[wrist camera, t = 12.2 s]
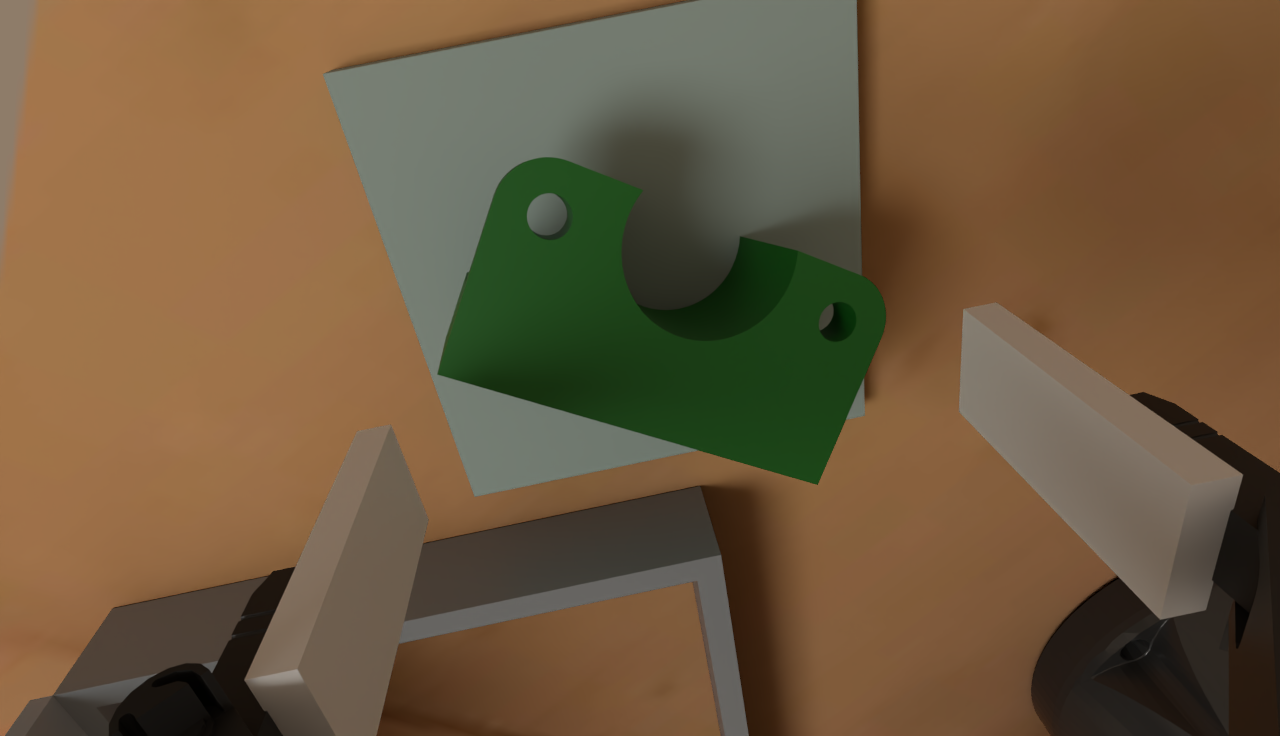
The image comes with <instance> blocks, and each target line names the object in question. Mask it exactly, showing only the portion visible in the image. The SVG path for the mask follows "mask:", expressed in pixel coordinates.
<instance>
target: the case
mask: <svg viewBox="0 0 1280 736" xmlns="http://www.w3.org/2000/svg"><path fill="white" fill-rule="evenodd" d="M267 577H268V576H267ZM267 577H262V578H257V579H252V580H247V581H243V582H238V583H233V584H228V585H223V586H219V587H214V588H209V589H204V590H200V591H195V592H190V593H185V594H180V595H176V596H171V597H166V598H161V599H156V600H152V601H147V602H142V603H137V604H132V605H128V606H123V607H118V608H113V609H112V610H111V611H110V613H109V614H108V616H107V617H106V619H105V620H104V622H103V623H102V624H101V626H100V627H99V629H98V630H97V632H96V633H95V635H94V636H93V638H92V639H91V641H90V642H89V643H88V645H87V646H86V648H85V649H84V651H83V652H82V654H81V655H80V657H79V658H78V659H77V661H76V662H75V664H74V665H73V667H72V668H71V670H70V671H69V673H68V674H67V676H66V677H65V678H64V680H63V681H62V683H61V684H60V686H59V687H58V689H57V690H56V692H55V693H54V695H53V696H49V697H44V698H39V699H34V700H30V701H29V703H28V704H27V705H26V707H25V708H24V710H23V711H22V712H21V714H20V715H19V717H18V718H17V719H16V721H15V722H14V724H13V725H12V726H11V728H10V729H9V731H8V732H7V733H6V735H5V736H109V723H110V721H111V719H112V717H113V715H114V713H115V711H116V709H117V707H118V706H119V705H120V704H121V703H122V702H123V701H124V699H125V698H126V697H127V696H128V695H129V694H130V693H131V692H132V691H133V690H134V689H136V688H137V687H138V686H140V685H141V684H142V683H143V682H145V681H146V680H147V679H149V678H150V677H152V676H154V675H156V674H158V673H160V672H162V671H164V670H166V669H167V668H170V667H174V666H177V665H181V664H184V663H199V664H202V665H203V666H205V667H206V668H208V669H209V670H210V671H211V673H212V672H213V670H214V668H215V666H216V664H217V662H218V660H219V658H220V656H221V654H222V652H223V650H224V649H225V647H226V645H227V643H228V641H229V640H231V639H232V637H231V635H232V633H233V631H234V629H235V627H236V625H237V623H238V621H241V615H242V613H243V611H244V609H245V607H246V605H247V603H248V601H249V599H250V597H251V595H252V593H253V592H254V591H255V590H256V589H257V588H258V587H259V586H260V585H261V584H262V583H263V582H264V581H265V580H266V579H267ZM688 582H693V586H694V592H695V597H696V602H697V608H698V613H699V619H700V624H701V630H702V635H703V641H704V646H705V651H706V657H707V662H708V668H709V673H710V679H711V684H712V690H713V695H714V700H715V706H716V711H717V717H718V722H719V728H720V733H721V736H749V734H748V727H747V721H746V714H745V708H744V701H743V695H742V688H741V682H740V675H739V669H738V662H737V656H736V649H735V643H734V636H733V630H732V623H731V616H730V610H729V603H728V597H727V590H726V584H725V577H724V571H723V564H722V558H721V553H720V550H719V546H718V543H717V540H716V537H715V533H714V530H713V527H712V523H711V520H710V517H709V513H708V510H707V507H706V504H705V500H704V497H703V494H702V490H701V487H700V486H698V487H693V488H688V489H683V490H679V491H674V492H669V493H664V494H660V495H655V496H650V497H645V498H640V499H636V500H631V501H626V502H621V503H616V504H612V505H607V506H602V507H597V508H592V509H588V510H583V511H578V512H573V513H568V514H564V515H559V516H554V517H549V518H545V519H540V520H535V521H530V522H525V523H521V524H516V525H511V526H506V527H501V528H497V529H492V530H487V531H482V532H477V533H473V534H468V535H463V536H458V537H453V538H449V539H444V540H439V541H434V542H430V543H425V544H423V545H422V549H421V553H420V557H419V561H418V565H417V570H416V574H415V578H414V582H413V586H412V590H411V594H410V599H409V603H408V607H407V611H406V615H405V619H404V623H403V628H402V632H401V636H400V640H399V644H400V643H404V642H409V641H414V640H419V639H423V638H428V637H433V636H438V635H442V634H447V633H452V632H457V631H461V630H466V629H471V628H475V627H480V626H485V625H490V624H494V623H499V622H504V621H509V620H513V619H518V618H523V617H528V616H532V615H537V614H542V613H546V612H551V611H556V610H561V609H565V608H570V607H575V606H580V605H584V604H589V603H594V602H599V601H603V600H608V599H613V598H617V597H622V596H627V595H632V594H636V593H641V592H646V591H651V590H655V589H660V588H665V587H670V586H674V585H679V584H684V583H688Z"/></svg>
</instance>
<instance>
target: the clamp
mask: <svg viewBox="0 0 1280 736" xmlns="http://www.w3.org/2000/svg"><path fill="white" fill-rule="evenodd" d="M642 192H643V190H642V189H639V188H636V187H634V186H631V185H629V184H626V183H624V182H621V181H619V180H616V179H613V178H611V177H608V176H606V175H603V174H601V173H598V172H596V171H593V170H590V169H588V168H585V167H583V166H580V165H578V164H575V163H573V162H570V161H567V160H564V159H560V158H554V157H542V158H536V159H532V160H528V161H525V162H523V163H521V164H519V165H517V166H515V167H514V168H513V169H511V170H510V171H509V172H508V173H507V174H506V175H505V176H504V177H503V178H502V179H501V181H500V183H499V184H498V186H497V188H496V190H495V193H494V195H493V199H492V202H491V205H490V208H489V211H488V214H487V217H486V220H485V223H484V227H483V230H482V233H481V236H480V239H479V242H478V245H477V248H476V251H475V255H474V258H473V261H472V264H471V267H470V270H469V272H467V273H466V276H465V280H464V283H463V286H462V289H461V292H460V295H459V298H458V301H457V305H456V308H455V311H454V314H453V317H452V320H451V323H450V326H449V330H448V333H447V336H446V339H445V343H444V348H443V352H442V356H441V360H440V365H439V369H438V373H437V375H440V376H444V377H447V378H451V379H454V380H458V381H461V382H465V383H468V384H471V385H475V386H478V387H482V388H485V389H489V390H492V391H496V392H499V393H503V394H506V395H509V396H513V397H516V398H520V399H523V400H527V401H530V402H534V403H537V404H540V405H544V406H547V407H551V408H554V409H558V410H561V411H565V412H568V413H572V414H575V415H578V416H582V417H585V418H589V419H592V420H596V421H599V422H603V423H606V424H609V425H613V426H616V427H620V428H623V429H627V430H630V431H634V432H637V433H641V434H644V435H647V436H651V437H654V438H658V439H661V440H665V441H668V442H672V443H675V444H679V445H682V446H685V447H689V448H692V449H696V450H699V451H703V452H706V453H710V454H713V455H716V456H720V457H723V458H727V459H730V460H734V461H737V462H741V463H744V464H748V465H751V466H754V467H758V468H761V469H765V470H768V471H772V472H775V473H779V474H782V475H785V476H789V477H792V478H796V479H799V480H803V481H806V482H810V483H813V484H817V485H818V483H819V481H820V478H821V476H822V474H823V471H824V469H825V467H826V464H827V462H828V460H829V457H830V455H831V453H832V451H833V448H834V446H835V444H836V441H837V439H838V437H839V434H840V432H841V430H842V427H843V425H844V423H845V421H846V418H847V416H848V414H849V411H850V409H851V407H852V404H853V402H854V400H855V397H856V395H857V393H858V391H859V388H860V386H861V384H862V381H863V379H864V377H865V374H866V372H867V370H868V367H869V365H870V363H871V361H872V358H873V356H874V354H875V351H876V349H877V347H878V344H879V342H880V340H881V337H882V335H883V332H884V328H885V322H886V310H885V304H884V301H883V298H882V296H881V294H880V292H879V290H878V289H877V287H876V286H875V285H874V284H873V283H872V282H871V281H870V280H868V279H867V278H865V277H863V276H861V275H859V274H856V273H854V272H851V271H849V270H846V269H844V268H841V267H838V266H836V265H833V264H831V263H828V262H826V261H823V260H821V259H818V258H815V257H813V256H810V255H808V254H805V253H803V252H800V251H797V250H793V249H789V248H785V247H781V246H777V245H773V244H769V243H765V242H761V241H757V240H753V239H749V238H745V237H741V236H740V241H739V247H738V252H737V255H736V259H735V261H734V264H733V266H732V268H731V270H730V272H729V274H728V275H727V277H726V278H725V279H724V281H723V282H722V283H721V284H720V286H719V287H718V288H717V289H716V290H715V291H714V292H712V293H711V294H710V295H709V296H707V297H706V298H704V299H703V300H701V301H699V302H697V303H695V304H693V305H690V306H688V307H684V308H680V309H674V310H657V309H651V308H647V307H644V306H641V305H639V304H636V302H635V300H634V299H633V297H632V295H631V293H630V291H629V288H628V286H627V283H626V280H625V277H624V272H623V267H622V257H621V254H622V238H623V233H624V228H625V225H626V222H627V219H628V216H629V214H630V211H631V209H632V207H633V205H634V204H635V202H636V200H637V198H638V197H639V196H640V194H641V193H642ZM546 193H553V194H555V195H557V196H558V197H560V198H561V200H562V201H563V202H564V204H565V206H566V210H567V218H566V222H565V224H564V226H563V227H562V228H561V229H560V230H559V231H558V232H556V233H555V234H552V235H540V234H537V233H535V232H534V231H532V230H531V229H530V227H529V225H528V221H527V211H528V208H529V206H530V204H531V202H532V201H533V200H534V199H535V198H536V197H538V196H540V195H542V194H546ZM830 304H832V305H833V317H832V319H831V321H830V323H829V324H828V325H827V326H826V327H825V328H824V329H822V330H820V329H819V319H820V316H821V314H822V312H823V311H824V309H825V308H826V307H828V306H829V305H830Z"/></svg>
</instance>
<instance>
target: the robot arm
mask: <svg viewBox="0 0 1280 736" xmlns="http://www.w3.org/2000/svg"><path fill="white" fill-rule="evenodd" d="M959 412H960V413H961V414H962V415H963V416H964V417H965V418H966V419H967V421H968V422H969V423H970V424H971V425H972V426H973V427H974V428H975V429H976V430H977V431H978V432H979V433H980V434H981V435H982V436H983V437H984V438H985V439H986V440H987V441H988V442H989V443H990V444H991V445H992V446H993V447H994V448H995V449H996V451H997V452H998V453H999V454H1000V455H1001V456H1002V457H1003V458H1004V459H1005V460H1006V461H1007V462H1008V463H1009V464H1010V465H1011V466H1012V467H1013V468H1014V469H1015V470H1016V471H1017V472H1018V473H1019V474H1020V475H1021V476H1022V477H1023V478H1024V479H1025V481H1026V482H1027V483H1028V484H1029V485H1030V486H1031V487H1032V488H1033V489H1034V490H1035V491H1036V492H1037V493H1038V494H1039V495H1040V496H1041V497H1042V498H1043V499H1044V500H1045V501H1046V502H1047V503H1048V504H1049V505H1050V506H1051V507H1052V508H1053V509H1054V510H1055V512H1056V513H1057V514H1058V515H1059V516H1060V517H1061V518H1062V519H1063V520H1064V521H1065V522H1066V523H1067V524H1068V525H1069V526H1070V527H1071V528H1072V529H1073V530H1074V531H1075V532H1076V533H1077V534H1078V535H1079V536H1080V537H1081V538H1082V539H1083V540H1084V542H1085V543H1086V544H1087V545H1088V546H1089V547H1090V548H1091V549H1092V550H1093V551H1094V552H1095V553H1096V554H1097V555H1098V556H1099V557H1100V558H1101V559H1102V560H1103V561H1104V562H1105V563H1106V564H1107V565H1108V566H1109V567H1110V568H1111V569H1112V570H1113V572H1114V573H1115V574H1116V575H1117V576H1118V577H1119V579H1117V580H1116V581H1114V582H1113V583H1111V584H1110V585H1108V586H1107V587H1105V588H1104V589H1102V590H1101V591H1099V592H1098V593H1097V594H1095V595H1094V596H1093V597H1091V598H1090V599H1089V600H1088V601H1087V602H1085V603H1084V604H1083V605H1082V606H1081V607H1080V608H1078V609H1077V610H1076V611H1075V612H1074V613H1073V614H1072V615H1071V616H1070V617H1069V618H1068V619H1067V620H1066V621H1065V622H1064V623H1063V625H1062V626H1061V627H1060V628H1059V629H1058V630H1057V632H1056V633H1055V634H1054V635H1053V637H1052V638H1051V640H1050V641H1049V643H1048V644H1047V646H1046V647H1045V649H1044V651H1043V652H1042V654H1041V656H1040V658H1039V660H1038V663H1037V665H1036V668H1035V671H1034V675H1033V679H1032V687H1031V696H1032V702H1033V706H1034V709H1035V711H1036V713H1037V715H1038V717H1039V718H1040V720H1041V721H1042V723H1043V724H1044V726H1045V727H1046V729H1047V730H1048V732H1049V733H1050V735H1051V736H1280V473H1279V472H1277V471H1276V470H1274V469H1273V468H1271V467H1270V466H1268V465H1267V464H1265V463H1264V462H1262V461H1261V460H1259V459H1258V458H1256V457H1255V456H1253V455H1252V454H1250V453H1249V452H1247V451H1246V450H1244V449H1243V448H1241V447H1240V446H1238V445H1236V444H1235V443H1233V442H1232V441H1230V440H1229V439H1227V438H1226V437H1224V436H1223V435H1220V436H1219V435H1218V434H1217V431H1215V430H1214V429H1212V428H1211V427H1209V426H1208V425H1206V424H1205V423H1203V422H1201V423H1199V421H1198V419H1197V418H1196V417H1194V416H1193V415H1191V414H1190V413H1188V412H1187V411H1185V410H1184V409H1182V408H1180V407H1179V406H1177V405H1176V404H1174V403H1172V402H1169V401H1166V400H1163V399H1161V398H1158V397H1155V396H1153V395H1150V394H1147V393H1144V392H1142V393H1137V394H1132V395H1128V394H1127V393H1125V392H1124V391H1123V390H1121V389H1120V388H1118V387H1117V386H1115V385H1114V384H1113V383H1111V382H1110V381H1108V380H1107V379H1105V378H1104V377H1103V376H1101V375H1100V374H1098V373H1097V372H1095V371H1094V370H1093V369H1091V368H1090V367H1088V366H1087V365H1085V364H1084V363H1082V362H1081V361H1080V360H1078V359H1077V358H1075V357H1074V356H1072V355H1071V354H1070V353H1068V352H1067V351H1065V350H1064V349H1062V348H1061V347H1060V346H1058V345H1057V344H1055V343H1054V342H1052V341H1051V340H1050V339H1048V338H1047V337H1045V336H1044V335H1042V334H1041V333H1040V332H1038V331H1037V330H1035V329H1034V328H1032V327H1031V326H1030V325H1028V324H1027V323H1025V322H1024V321H1022V320H1021V319H1020V318H1018V317H1017V316H1015V315H1014V314H1012V313H1011V312H1009V311H1008V310H1007V309H1005V308H1004V307H1002V306H1001V305H999V304H998V303H997V302H996V303H991V304H986V305H981V306H976V307H971V308H966V309H963V331H962V353H961V376H960V399H959ZM428 520H429V519H428V517H427V514H426V512H425V509H424V507H423V504H422V502H421V499H420V497H419V494H418V492H417V489H416V486H415V484H414V481H413V479H412V476H411V474H410V471H409V469H408V466H407V464H406V461H405V459H404V456H403V454H402V451H401V449H400V446H399V444H398V441H397V439H396V436H395V434H394V431H393V428H392V426H391V425H386V426H381V427H376V428H371V429H366V430H361V431H357V433H356V435H355V437H354V439H353V442H352V444H351V446H350V448H349V450H348V453H347V455H346V457H345V459H344V461H343V464H342V466H341V468H340V470H339V472H338V475H337V477H336V479H335V481H334V483H333V486H332V488H331V490H330V492H329V494H328V497H327V499H326V501H325V503H324V506H323V508H322V510H321V512H320V514H319V517H318V519H317V521H316V523H315V525H314V528H313V530H312V532H311V534H310V536H309V539H308V541H307V543H306V545H305V547H304V550H303V552H302V554H301V556H300V558H299V561H298V563H297V565H296V567H292V568H287V569H282V570H277V571H273V572H272V573H271V574H270V575H269V576H268V577H267V579H266V580H265V581H264V582H263V583H262V584H261V585H260V586H259V587H258V588H257V589H256V590H255V591H254V592H253V593H252V595H251V597H250V599H249V601H248V603H247V605H246V607H245V609H244V611H243V613H242V615H241V621H238V623H237V625H236V627H235V629H234V631H233V633H232V635H231V637H232V639H231V640H229V641H228V643H227V645H226V647H225V649H224V650H223V652H222V654H221V656H220V658H219V660H218V662H217V664H216V666H215V668H214V670H213V672H212V673H211V671H210V670H209V669H208V668H206V667H205V666H203V665H202V664H199V663H184V664H181V665H177V666H174V667H170V668H167V669H166V670H164V671H162V672H160V673H158V674H156V675H154V676H152V677H150V678H149V679H147V680H146V681H145V682H143V683H142V684H141V685H140V686H138V687H137V688H136V689H134V690H133V691H132V692H131V693H130V694H129V695H128V696H127V697H126V698H125V699H124V701H123V702H122V703H121V704H120V705H119V706H118V707H117V709H116V711H115V713H114V715H113V717H112V719H111V721H110V723H109V736H376V735H377V731H378V727H379V723H380V719H381V715H382V710H383V706H384V702H385V698H386V694H387V690H388V686H389V681H390V677H391V673H392V669H393V665H394V661H395V657H396V652H397V648H398V644H399V640H400V636H401V632H402V628H403V623H404V619H405V615H406V611H407V607H408V603H409V599H410V594H411V590H412V586H413V582H414V578H415V574H416V570H417V565H418V561H419V557H420V553H421V549H422V545H423V541H424V536H425V532H426V528H427V524H428Z"/></svg>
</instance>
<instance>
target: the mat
mask: <svg viewBox="0 0 1280 736" xmlns="http://www.w3.org/2000/svg"><path fill="white" fill-rule="evenodd" d="M323 76H324V78H325V81H326V84H327V87H328V90H329V92H330V95H331V98H332V101H333V103H334V106H335V109H336V112H337V115H338V117H339V120H340V123H341V126H342V129H343V131H344V134H345V137H346V140H347V142H348V145H349V148H350V151H351V154H352V156H353V159H354V162H355V165H356V168H357V170H358V173H359V176H360V179H361V181H362V184H363V187H364V190H365V193H366V195H367V198H368V201H369V204H370V206H371V209H372V212H373V215H374V218H375V220H376V223H377V226H378V229H379V232H380V234H381V237H382V240H383V243H384V245H385V248H386V251H387V254H388V257H389V259H390V262H391V265H392V268H393V271H394V273H395V276H396V279H397V282H398V284H399V287H400V290H401V293H402V296H403V298H404V301H405V304H406V307H407V309H408V312H409V315H410V318H411V321H412V323H413V326H414V329H415V332H416V335H417V337H418V340H419V343H420V346H421V348H422V351H423V354H424V357H425V360H426V362H427V365H428V368H429V371H430V373H431V376H432V379H433V382H434V385H435V387H436V390H437V393H438V396H439V399H440V401H441V404H442V407H443V410H444V412H445V415H446V418H447V421H448V424H449V426H450V429H451V432H452V435H453V438H454V440H455V443H456V446H457V449H458V451H459V454H460V457H461V460H462V463H463V465H464V468H465V471H466V474H467V476H468V479H469V482H470V485H471V488H472V490H473V493H474V496H475V497H476V496H481V495H486V494H490V493H495V492H500V491H505V490H510V489H514V488H519V487H524V486H529V485H534V484H538V483H543V482H548V481H553V480H558V479H563V478H567V477H572V476H577V475H582V474H587V473H591V472H596V471H601V470H606V469H611V468H616V467H620V466H625V465H630V464H635V463H640V462H644V461H649V460H654V459H659V458H664V457H668V456H673V455H678V454H683V453H688V452H693V451H697V450H696V449H692V448H689V447H685V446H682V445H679V444H675V443H672V442H668V441H665V440H661V439H658V438H654V437H651V436H647V435H644V434H641V433H637V432H634V431H630V430H627V429H623V428H620V427H616V426H613V425H609V424H606V423H603V422H599V421H596V420H592V419H589V418H585V417H582V416H578V415H575V414H572V413H568V412H565V411H561V410H558V409H554V408H551V407H547V406H544V405H540V404H537V403H534V402H530V401H527V400H523V399H520V398H516V397H513V396H509V395H506V394H503V393H499V392H496V391H492V390H489V389H485V388H482V387H478V386H475V385H471V384H468V383H465V382H461V381H458V380H454V379H451V378H447V377H444V376H440V375H437V373H438V369H439V365H440V360H441V356H442V352H443V348H444V343H445V339H446V336H447V333H448V330H449V326H450V323H451V320H452V317H453V314H454V311H455V308H456V305H457V301H458V298H459V295H460V292H461V289H462V286H463V283H464V280H465V276H466V273H467V272H469V270H470V267H471V264H472V261H473V258H474V255H475V251H476V248H477V245H478V242H479V239H480V236H481V233H482V230H483V227H484V223H485V220H486V217H487V214H488V211H489V208H490V205H491V202H492V199H493V195H494V193H495V190H496V188H497V186H498V184H499V183H500V181H501V179H502V178H503V177H504V176H505V175H506V174H507V173H508V172H509V171H510V170H511V169H513V168H514V167H515V166H517V165H519V164H521V163H523V162H525V161H528V160H532V159H536V158H542V157H554V158H560V159H564V160H567V161H570V162H573V163H575V164H578V165H580V166H583V167H585V168H588V169H590V170H593V171H596V172H598V173H601V174H603V175H606V176H608V177H611V178H613V179H616V180H619V181H621V182H624V183H626V184H629V185H631V186H634V187H636V188H639V189H642V190H643V192H642V193H641V194H640V196H639V197H638V198H637V200H636V202H635V204H634V205H633V207H632V209H631V211H630V214H629V216H628V219H627V222H626V225H625V228H624V233H623V238H622V254H621V257H622V267H623V272H624V277H625V280H626V283H627V286H628V288H629V291H630V293H631V295H632V297H633V299H634V300H635V302H636V304H639V305H641V306H644V307H647V308H651V309H657V310H674V309H680V308H684V307H688V306H690V305H693V304H695V303H697V302H699V301H701V300H703V299H704V298H706V297H707V296H709V295H710V294H711V293H712V292H714V291H715V290H716V289H717V288H718V287H719V286H720V284H721V283H722V282H723V281H724V279H725V278H726V277H727V275H728V274H729V272H730V270H731V268H732V266H733V264H734V261H735V259H736V255H737V252H738V247H739V241H740V236H741V237H745V238H749V239H753V240H757V241H761V242H765V243H769V244H773V245H777V246H781V247H785V248H789V249H793V250H797V251H800V252H803V253H805V254H808V255H810V256H813V257H815V258H818V259H821V260H823V261H826V262H828V263H831V264H833V265H836V266H838V267H841V268H844V269H846V270H849V271H851V272H854V273H856V274H859V275H861V276H862V251H861V199H860V148H859V96H858V45H857V0H687V1H682V2H677V3H672V4H667V5H662V6H657V7H652V8H647V9H641V10H636V11H631V12H626V13H621V14H616V15H611V16H606V17H601V18H595V19H590V20H585V21H580V22H575V23H570V24H565V25H560V26H555V27H549V28H544V29H539V30H534V31H529V32H524V33H519V34H514V35H508V36H503V37H498V38H493V39H488V40H483V41H478V42H473V43H468V44H462V45H457V46H452V47H447V48H442V49H437V50H432V51H427V52H422V53H416V54H411V55H406V56H401V57H396V58H391V59H386V60H381V61H375V62H370V63H365V64H360V65H355V66H350V67H345V68H340V69H335V70H331V71H329V72H326V73H324V74H323ZM566 218H567V210H566V206H565V204H564V202H563V201H562V200H561V198H560V197H558V196H557V195H555V194H553V193H546V194H542V195H540V196H538V197H536V198H535V199H534V200H533V201H532V202H531V204H530V206H529V208H528V211H527V221H528V225H529V227H530V229H531V230H532V231H534V232H535V233H537V234H540V235H552V234H555V233H556V232H558V231H559V230H560V229H561V228H562V227H563V226H564V224H565V222H566ZM832 317H833V305H832V304H830V305H829V306H828V307H826V308H825V309H824V311H823V312H822V314H821V316H820V319H819V329H820V330H822V329H824V328H825V327H826V326H827V325H828V324H829V323H830V321H831V319H832ZM861 416H865V406H864V379H863V381H862V384H861V386H860V388H859V391H858V393H857V395H856V397H855V400H854V402H853V404H852V407H851V409H850V411H849V414H848V416H847V418H846V420H847V419H851V418H856V417H861Z"/></svg>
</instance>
